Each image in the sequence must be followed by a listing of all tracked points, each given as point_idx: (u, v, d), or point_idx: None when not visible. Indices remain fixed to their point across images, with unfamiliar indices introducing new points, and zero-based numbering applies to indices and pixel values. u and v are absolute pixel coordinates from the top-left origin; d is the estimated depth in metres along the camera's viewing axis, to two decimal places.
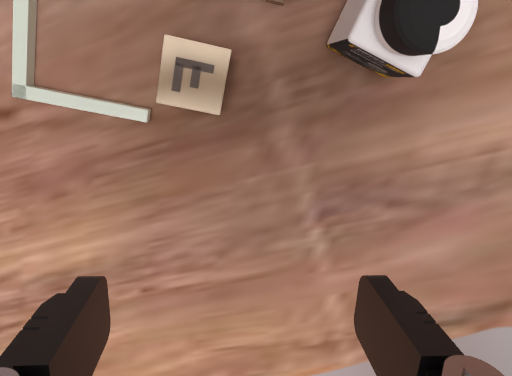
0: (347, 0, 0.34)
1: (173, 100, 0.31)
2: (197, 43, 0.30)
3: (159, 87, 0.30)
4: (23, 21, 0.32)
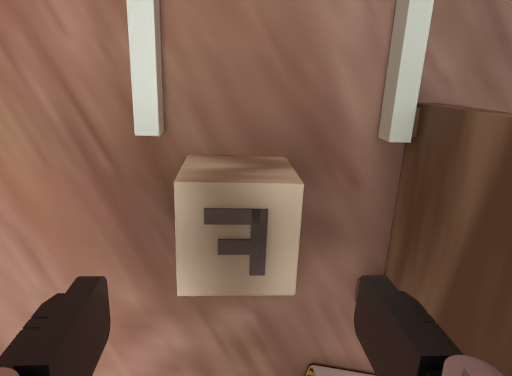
0: None
1: (186, 213, 0.16)
2: (296, 241, 0.16)
3: (204, 185, 0.15)
4: None
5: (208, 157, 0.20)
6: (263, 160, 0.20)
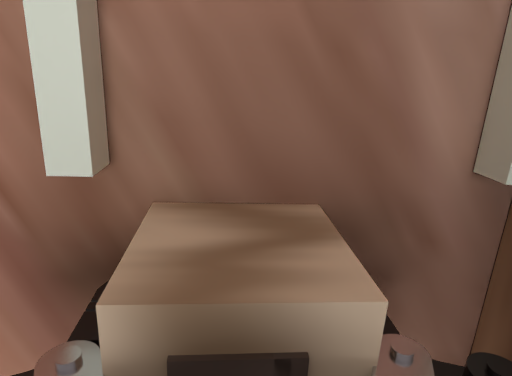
0: None
1: (127, 368, 0.07)
2: None
3: (168, 310, 0.07)
4: None
5: (187, 210, 0.11)
6: (284, 217, 0.11)
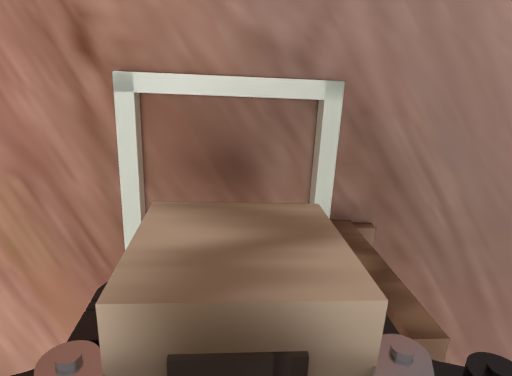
0: None
1: (127, 366, 0.07)
2: None
3: (168, 309, 0.07)
4: (223, 90, 0.23)
5: (187, 210, 0.11)
6: (284, 216, 0.11)
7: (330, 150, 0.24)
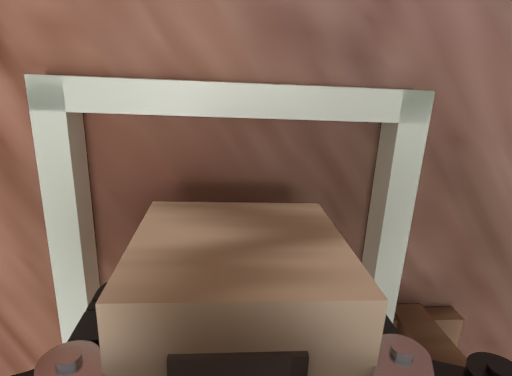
0: None
1: (127, 366, 0.07)
2: None
3: (168, 309, 0.07)
4: (224, 107, 0.13)
5: (187, 210, 0.11)
6: (284, 216, 0.11)
7: (403, 205, 0.15)
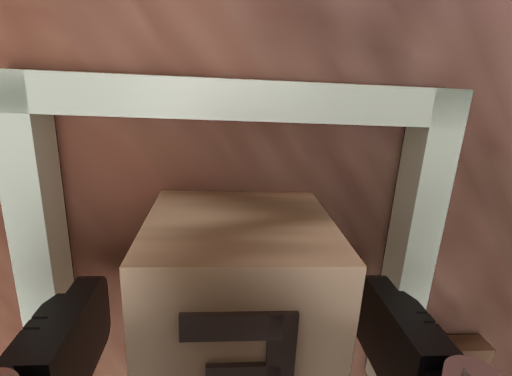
0: None
1: (145, 323, 0.08)
2: (347, 362, 0.09)
3: (180, 272, 0.08)
4: (221, 108, 0.11)
5: (193, 196, 0.12)
6: (280, 202, 0.12)
7: (432, 223, 0.12)
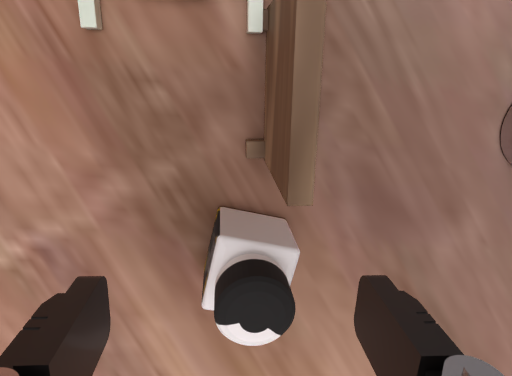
0: (262, 215, 0.36)
1: None
2: None
3: None
4: None
5: None
6: None
7: None
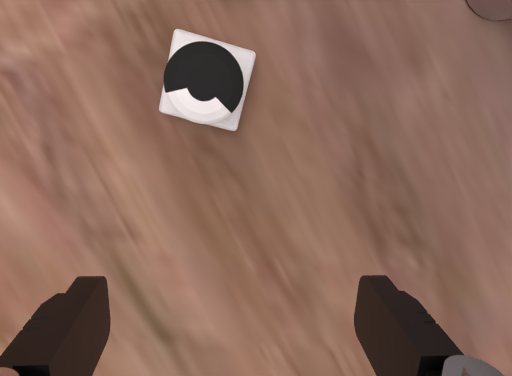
0: None
1: None
2: None
3: None
4: None
5: None
6: None
7: None
